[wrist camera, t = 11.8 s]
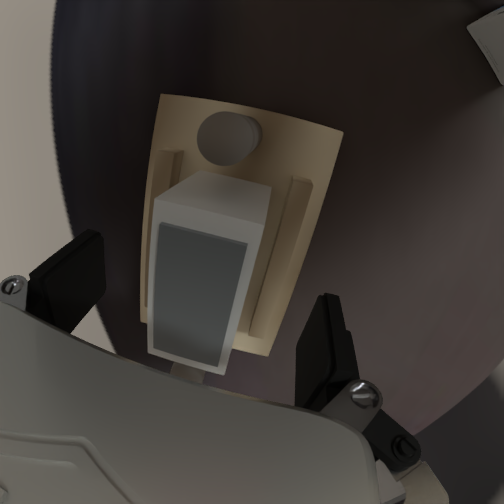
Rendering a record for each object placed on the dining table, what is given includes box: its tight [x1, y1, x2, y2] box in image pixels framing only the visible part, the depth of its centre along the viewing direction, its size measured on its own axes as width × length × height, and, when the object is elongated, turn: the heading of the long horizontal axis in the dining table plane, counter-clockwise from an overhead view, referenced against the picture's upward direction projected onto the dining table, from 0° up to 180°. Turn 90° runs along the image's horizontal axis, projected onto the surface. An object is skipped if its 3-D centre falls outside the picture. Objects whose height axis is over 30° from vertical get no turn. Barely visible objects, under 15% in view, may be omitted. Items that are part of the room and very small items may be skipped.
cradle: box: [140, 94, 344, 384], centre depth 15 cm, size 10×16×6 cm, turn 167°
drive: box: [147, 170, 272, 375], centre depth 14 cm, size 4×8×6 cm, turn 167°
